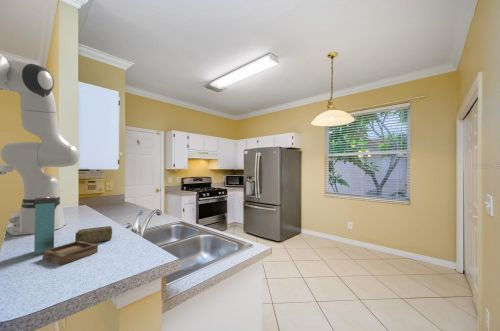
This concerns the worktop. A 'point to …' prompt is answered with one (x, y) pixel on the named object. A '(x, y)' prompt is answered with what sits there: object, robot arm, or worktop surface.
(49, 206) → the teal upright block
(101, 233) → the stone block
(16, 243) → the worktop surface
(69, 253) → the stand
